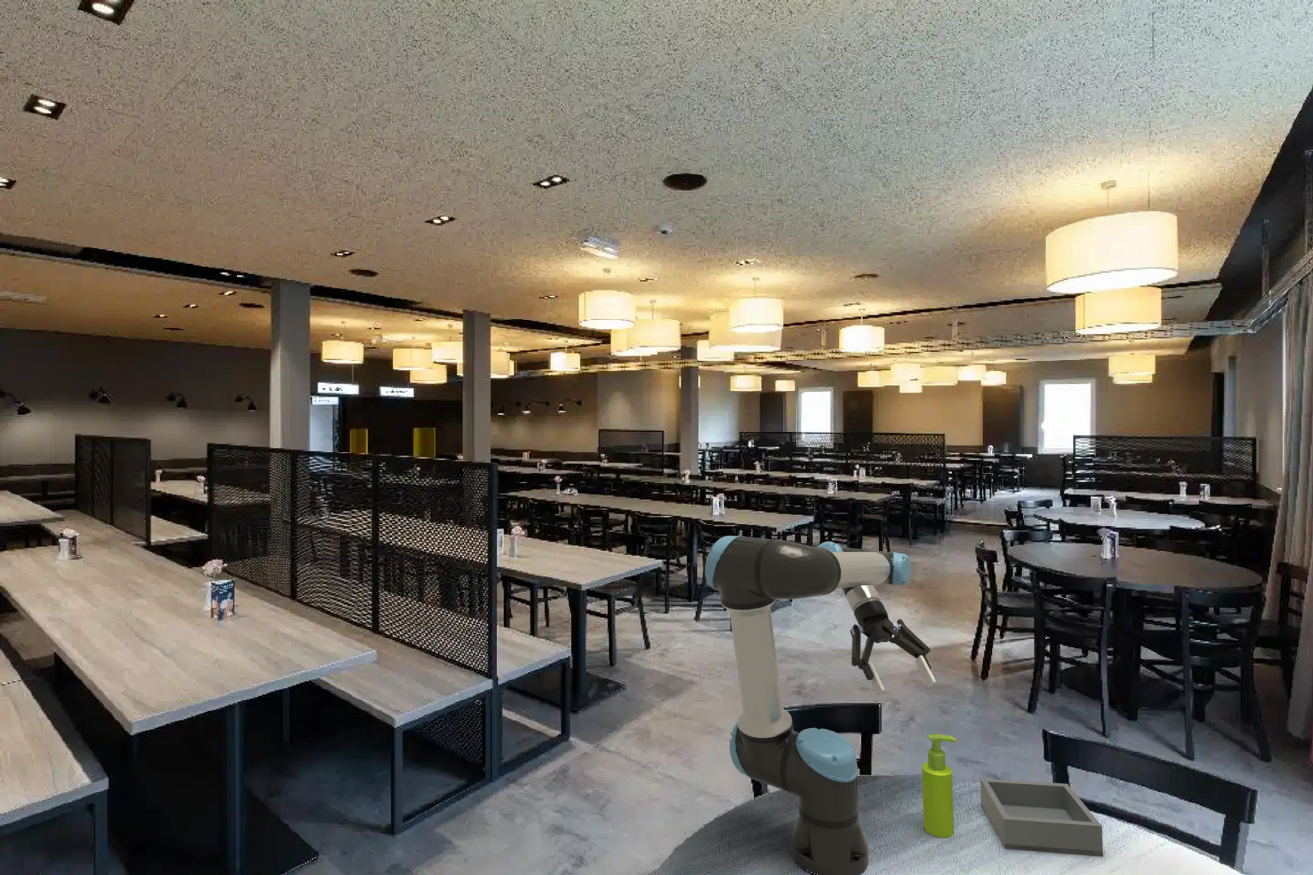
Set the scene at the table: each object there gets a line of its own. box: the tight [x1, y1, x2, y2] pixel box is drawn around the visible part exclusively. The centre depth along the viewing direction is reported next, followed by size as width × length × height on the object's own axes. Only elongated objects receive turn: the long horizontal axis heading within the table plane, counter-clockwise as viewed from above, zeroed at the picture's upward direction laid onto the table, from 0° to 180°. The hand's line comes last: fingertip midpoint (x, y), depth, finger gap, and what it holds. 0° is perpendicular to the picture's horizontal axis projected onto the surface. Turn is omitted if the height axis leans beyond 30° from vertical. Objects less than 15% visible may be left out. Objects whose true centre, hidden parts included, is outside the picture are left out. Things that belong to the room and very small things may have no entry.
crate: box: [979, 778, 1104, 857], centre depth 140 cm, size 18×16×6 cm
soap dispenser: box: [921, 733, 958, 839], centre depth 141 cm, size 6×7×20 cm
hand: (906, 688), depth 151 cm, fingers open, 13 cm apart
